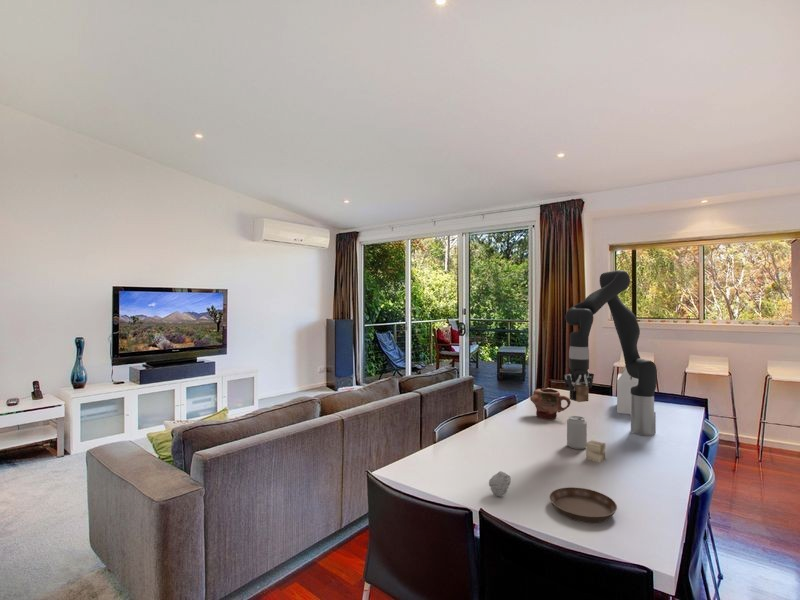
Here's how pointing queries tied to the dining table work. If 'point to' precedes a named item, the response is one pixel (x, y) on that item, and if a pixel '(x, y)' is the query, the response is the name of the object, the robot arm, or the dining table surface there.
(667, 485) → the dining table surface
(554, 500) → the plant saucer
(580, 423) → the can
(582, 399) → the walnut block
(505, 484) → the grey lumpy rounded piece
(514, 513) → the dining table surface
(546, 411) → the clay jug
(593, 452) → the maple block
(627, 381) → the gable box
